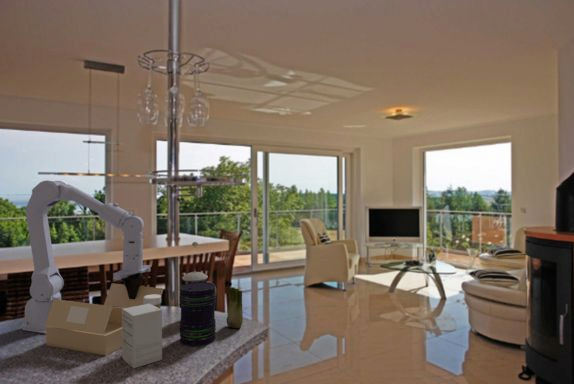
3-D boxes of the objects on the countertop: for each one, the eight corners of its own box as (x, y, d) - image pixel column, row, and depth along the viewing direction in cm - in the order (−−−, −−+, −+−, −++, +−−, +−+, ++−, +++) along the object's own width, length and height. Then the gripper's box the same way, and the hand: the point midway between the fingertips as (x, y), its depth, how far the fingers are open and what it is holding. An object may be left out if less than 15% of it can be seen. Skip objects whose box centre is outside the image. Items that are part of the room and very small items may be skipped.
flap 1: (46, 326, 110) (44, 325, 109) (55, 299, 112) (53, 298, 112) (104, 334, 103) (102, 334, 103) (112, 306, 106) (111, 306, 106)
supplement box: (150, 351, 107) (150, 302, 106) (162, 360, 101) (162, 309, 101) (121, 359, 102) (121, 308, 102) (132, 369, 96) (132, 315, 96)
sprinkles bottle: (163, 347, 109) (163, 296, 109) (145, 350, 107) (145, 299, 107) (158, 341, 113) (158, 292, 113) (141, 345, 111) (141, 295, 110)
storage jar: (198, 331, 122) (199, 280, 121) (223, 338, 116) (223, 285, 116) (171, 341, 113) (171, 287, 113) (196, 349, 108) (196, 292, 108)
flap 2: (111, 283, 132) (112, 283, 133) (103, 304, 129) (104, 305, 130) (162, 288, 126) (163, 288, 127) (155, 311, 123) (156, 311, 123)
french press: (181, 315, 136) (181, 239, 136) (217, 314, 137) (217, 239, 137) (176, 325, 126) (176, 244, 126) (215, 324, 127) (215, 243, 127)
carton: (46, 345, 110) (46, 326, 110) (102, 321, 129) (102, 306, 129) (106, 355, 104) (106, 335, 104) (155, 329, 123) (155, 312, 123)
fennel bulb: (244, 329, 123) (244, 289, 123) (228, 331, 122) (228, 290, 122) (240, 323, 129) (241, 284, 129) (225, 324, 127) (225, 285, 127)
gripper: (127, 259, 119) (126, 306, 119) (158, 252, 133) (158, 294, 133) (107, 257, 122) (107, 303, 122) (140, 251, 135) (139, 292, 135)
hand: (132, 298), depth 128 cm, fingers closed, pressing on flap 2
